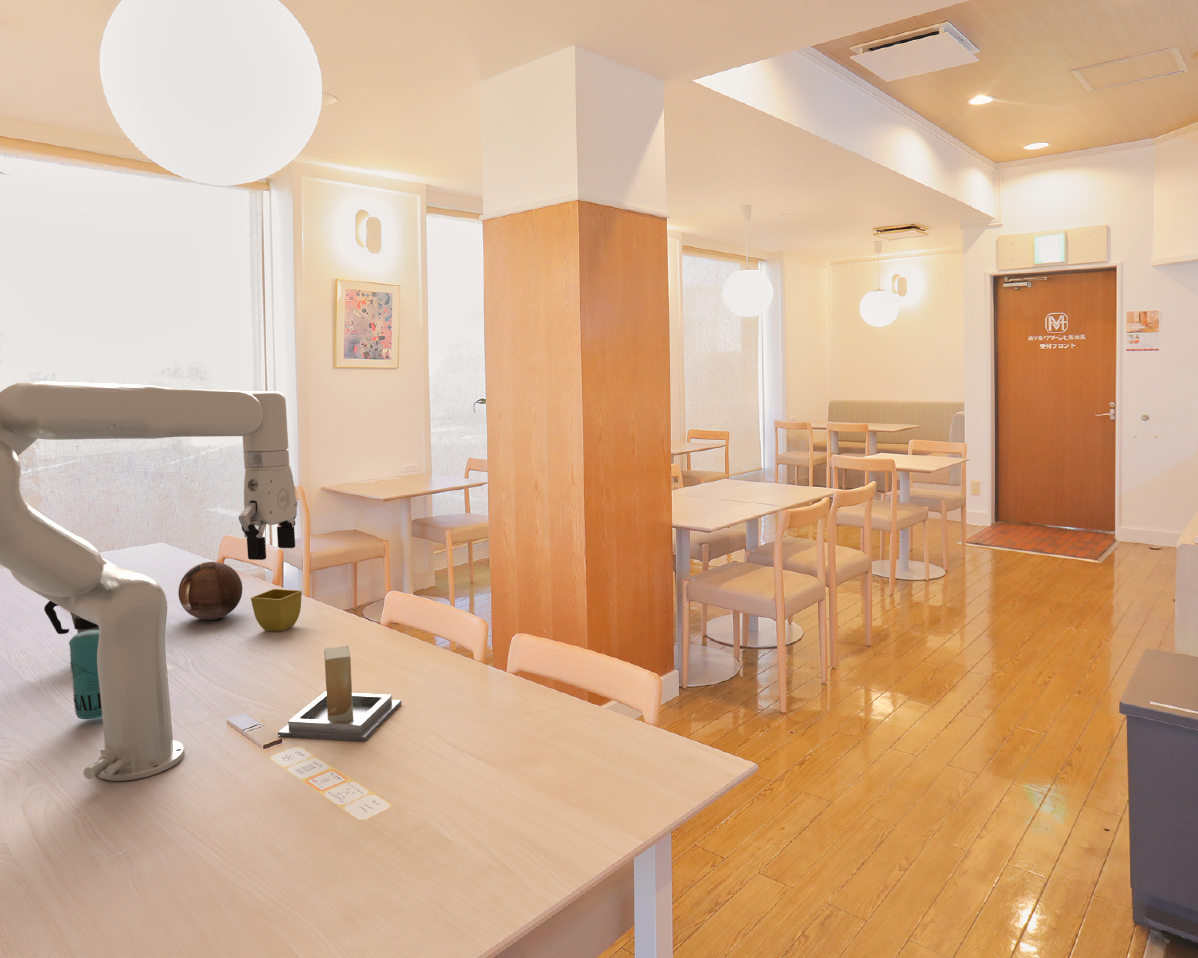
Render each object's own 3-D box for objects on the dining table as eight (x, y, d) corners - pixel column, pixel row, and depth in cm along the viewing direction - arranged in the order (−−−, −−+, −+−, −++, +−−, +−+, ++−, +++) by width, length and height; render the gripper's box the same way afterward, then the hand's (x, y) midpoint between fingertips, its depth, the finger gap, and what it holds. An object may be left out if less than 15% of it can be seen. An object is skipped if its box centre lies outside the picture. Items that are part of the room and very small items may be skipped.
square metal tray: (364, 741, 138) (364, 728, 137) (278, 736, 140) (277, 723, 140) (401, 704, 153) (400, 692, 153) (322, 700, 156) (322, 688, 155)
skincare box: (327, 711, 148) (323, 647, 147) (351, 707, 150) (348, 644, 148) (328, 725, 142) (324, 658, 141) (353, 721, 144) (350, 655, 142)
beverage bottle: (109, 709, 152) (99, 607, 150) (123, 719, 148) (114, 613, 145) (70, 721, 147) (59, 615, 145) (83, 731, 143) (73, 622, 140)
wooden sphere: (234, 606, 220) (231, 553, 219) (251, 619, 209) (248, 562, 207) (174, 617, 211) (170, 561, 209) (188, 631, 200) (184, 572, 198)
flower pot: (251, 632, 198) (249, 597, 197) (275, 622, 206) (273, 588, 205) (281, 635, 195) (279, 599, 194) (304, 624, 204) (302, 590, 203)
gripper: (258, 465, 135) (265, 564, 138) (310, 455, 152) (315, 544, 155) (218, 465, 137) (224, 563, 139) (273, 455, 154) (279, 543, 156)
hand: (272, 553), depth 147 cm, fingers open, 9 cm apart
